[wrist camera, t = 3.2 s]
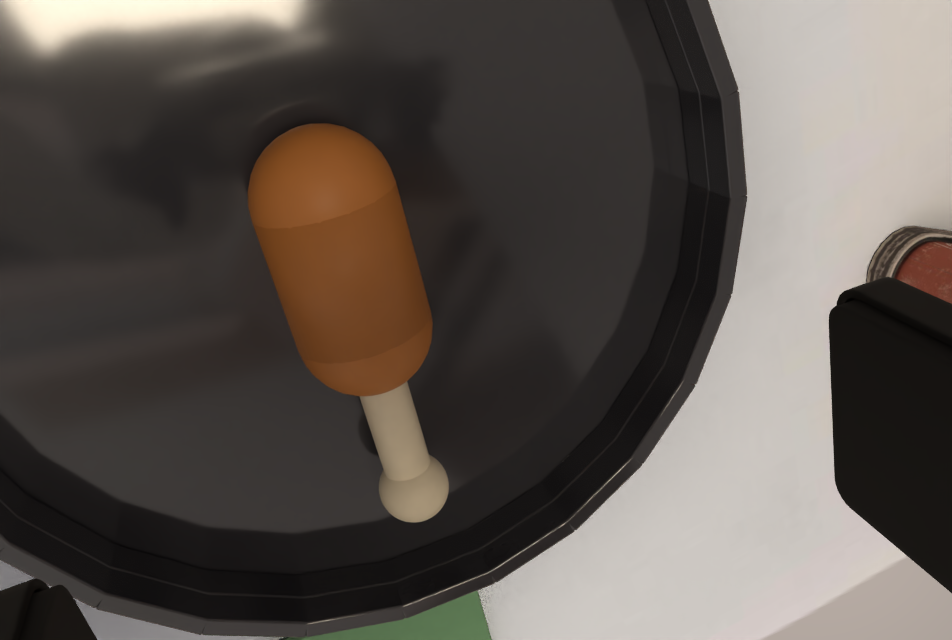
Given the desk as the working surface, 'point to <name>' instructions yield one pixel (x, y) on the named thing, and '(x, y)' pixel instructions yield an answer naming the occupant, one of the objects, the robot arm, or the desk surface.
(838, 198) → the desk surface
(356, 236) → the drumstick
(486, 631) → the napkin
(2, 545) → the pan
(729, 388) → the desk surface
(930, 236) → the lighter
